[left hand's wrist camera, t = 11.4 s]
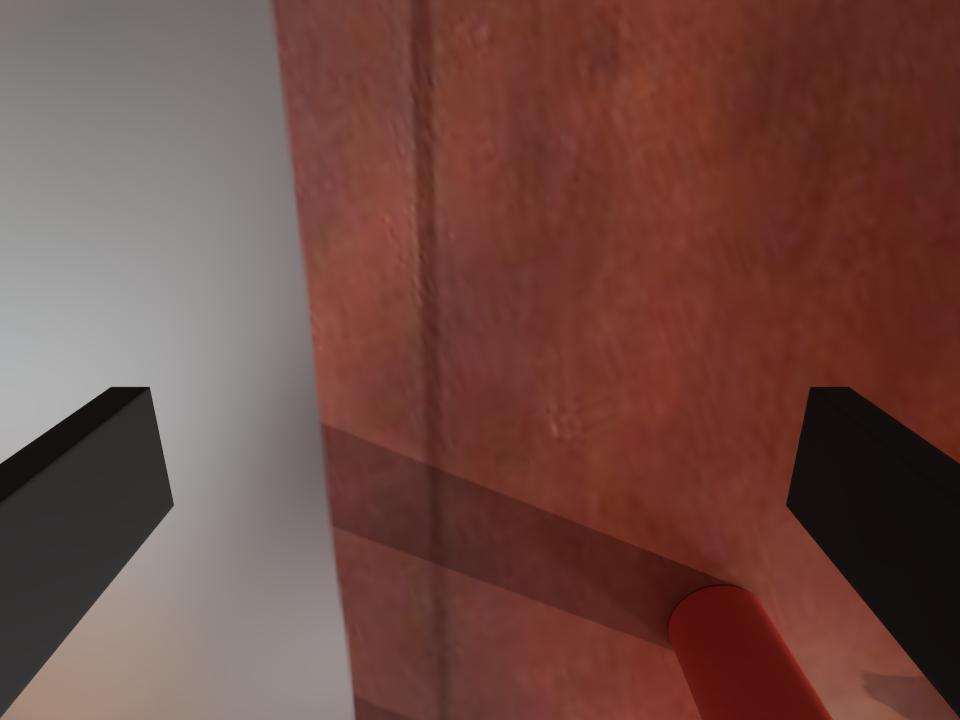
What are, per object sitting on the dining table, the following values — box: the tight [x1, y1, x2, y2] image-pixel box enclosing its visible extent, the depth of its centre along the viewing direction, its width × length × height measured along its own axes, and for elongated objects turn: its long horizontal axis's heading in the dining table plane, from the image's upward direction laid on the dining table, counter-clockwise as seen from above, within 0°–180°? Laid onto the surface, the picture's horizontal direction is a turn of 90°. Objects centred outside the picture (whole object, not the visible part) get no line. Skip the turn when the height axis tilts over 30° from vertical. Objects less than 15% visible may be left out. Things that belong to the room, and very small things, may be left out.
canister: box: [668, 585, 833, 720], centre depth 39 cm, size 7×7×12 cm
